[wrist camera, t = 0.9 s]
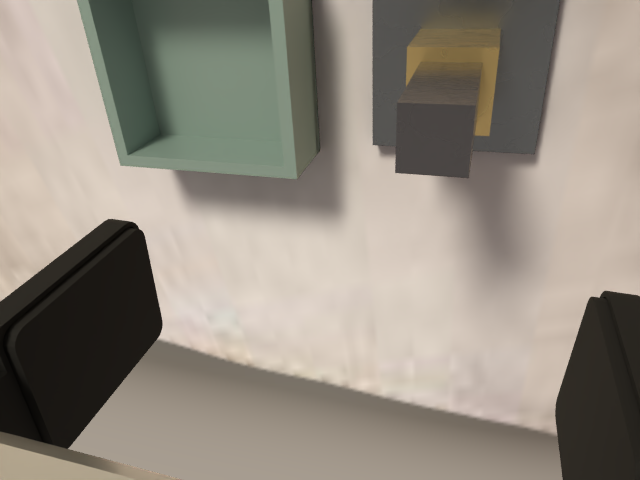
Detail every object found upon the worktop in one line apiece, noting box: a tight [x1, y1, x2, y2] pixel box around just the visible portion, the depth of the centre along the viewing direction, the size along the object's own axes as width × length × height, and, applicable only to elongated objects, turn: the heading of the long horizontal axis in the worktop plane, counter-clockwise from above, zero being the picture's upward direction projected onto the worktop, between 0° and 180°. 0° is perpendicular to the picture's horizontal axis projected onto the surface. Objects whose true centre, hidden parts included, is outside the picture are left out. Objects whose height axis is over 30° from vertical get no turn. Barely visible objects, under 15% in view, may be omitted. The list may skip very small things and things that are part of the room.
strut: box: [395, 29, 501, 178], centre depth 26 cm, size 4×4×12 cm
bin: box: [77, 0, 320, 179], centre depth 34 cm, size 13×13×5 cm
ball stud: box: [373, 0, 560, 154], centre depth 30 cm, size 10×10×5 cm
